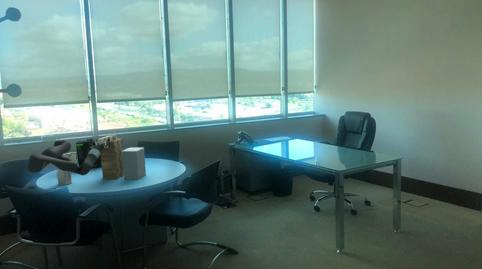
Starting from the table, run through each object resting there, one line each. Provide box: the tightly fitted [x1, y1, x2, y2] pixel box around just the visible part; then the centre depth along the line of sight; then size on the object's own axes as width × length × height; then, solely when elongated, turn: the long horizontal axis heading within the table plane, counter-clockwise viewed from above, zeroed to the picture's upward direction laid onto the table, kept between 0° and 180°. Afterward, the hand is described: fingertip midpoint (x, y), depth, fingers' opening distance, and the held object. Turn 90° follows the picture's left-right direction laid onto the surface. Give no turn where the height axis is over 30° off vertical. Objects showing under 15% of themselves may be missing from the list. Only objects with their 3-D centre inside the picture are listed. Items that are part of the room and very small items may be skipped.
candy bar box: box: [63, 151, 78, 165], centre depth 329 cm, size 11×5×16 cm, turn 129°
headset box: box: [75, 138, 102, 169], centre depth 344 cm, size 22×12×26 cm, turn 101°
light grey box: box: [122, 147, 147, 180], centre depth 302 cm, size 14×12×23 cm
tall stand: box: [101, 138, 124, 180], centre depth 304 cm, size 14×12×30 cm
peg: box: [96, 134, 118, 144], centre depth 296 cm, size 22×5×4 cm, turn 170°
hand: (104, 138), depth 291 cm, fingers open, 8 cm apart
